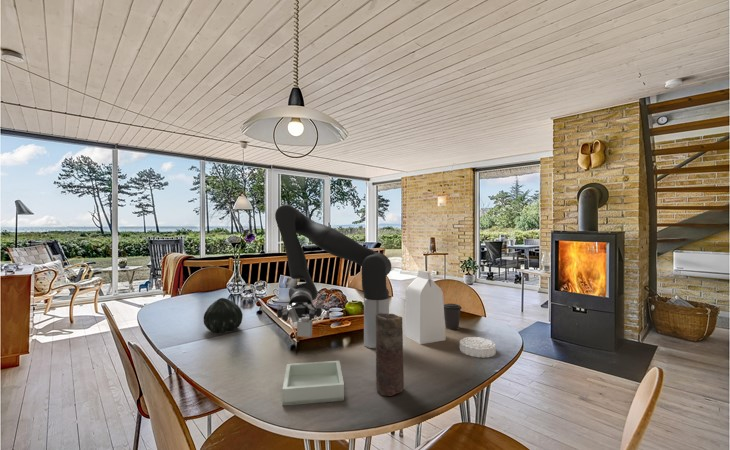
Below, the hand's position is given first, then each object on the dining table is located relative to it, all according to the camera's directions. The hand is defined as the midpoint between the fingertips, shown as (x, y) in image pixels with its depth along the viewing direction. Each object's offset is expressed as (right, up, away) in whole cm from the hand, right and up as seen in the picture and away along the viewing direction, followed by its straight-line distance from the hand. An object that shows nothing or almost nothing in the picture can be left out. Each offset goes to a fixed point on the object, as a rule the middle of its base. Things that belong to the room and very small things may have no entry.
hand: (298, 317), depth 94 cm
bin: (+5, -18, -5) cm, 19 cm away
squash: (-40, -18, +45) cm, 63 cm away
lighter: (0, -6, +3) cm, 7 cm away
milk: (+42, -18, +37) cm, 59 cm away
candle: (+25, -18, -5) cm, 32 cm away
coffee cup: (+56, -18, +49) cm, 77 cm away
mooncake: (+58, -18, +22) cm, 65 cm away
